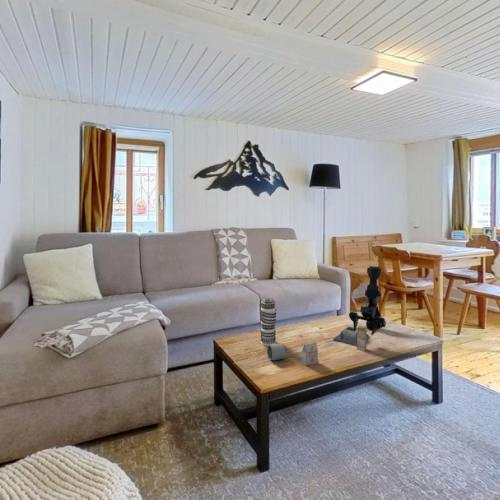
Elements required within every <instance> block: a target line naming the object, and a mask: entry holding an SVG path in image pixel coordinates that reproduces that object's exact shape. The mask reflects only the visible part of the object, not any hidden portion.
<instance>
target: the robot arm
mask: <svg viewBox="0 0 500 500" xmlns="http://www.w3.org/2000/svg"><path fill="white" fill-rule="evenodd" d="M366 274H367V275H368V278H369V284H368V285H367V286H366V289H365V291H364V297H365V299H366V302H365V303H366V304H365V306H363V305H362V306H360V310H359V313H360V315H359V314H358V312H354V311H350V312H349V313H348V317H349V319H350V320H351V321H352V323H353V327H354V331H356V328H358V326H359V320H362V321H365V323H366V324H365V326H367V330H370V331H371V334H370V335H371V336H373V335H375V333H376V332H377V331H379V330H380V329H382V328H386V325H387V322H386V320H385V319H386V318H385V317H381V312H380V310H379V306H378V304H379V302H378V301H379V300H378V299H379V298H380V297H381V296H382V295H381V291H380V290H379V289H380V288H379V285H378V280H379V279H380V277H381V275H382V268H380V266H374V265H373V266H370V265H369V267H367V268H366Z"/></svg>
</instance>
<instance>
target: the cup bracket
mask: <svg viewBox="0 0 500 500" xmlns="http://www.w3.org/2000/svg"><path fill="white" fill-rule="evenodd" d="M357 334H358V327H357V328H356V331H354V326H349V325H348V326H345V328H343V330H341V331H340V333H339V334H337V335H336V336H334V338H333V341H334V342H339V343H343V344H346V345H350V346H354V347H357ZM369 336H370V335H369V334H367V337H366V339H367V338H369Z"/></svg>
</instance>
